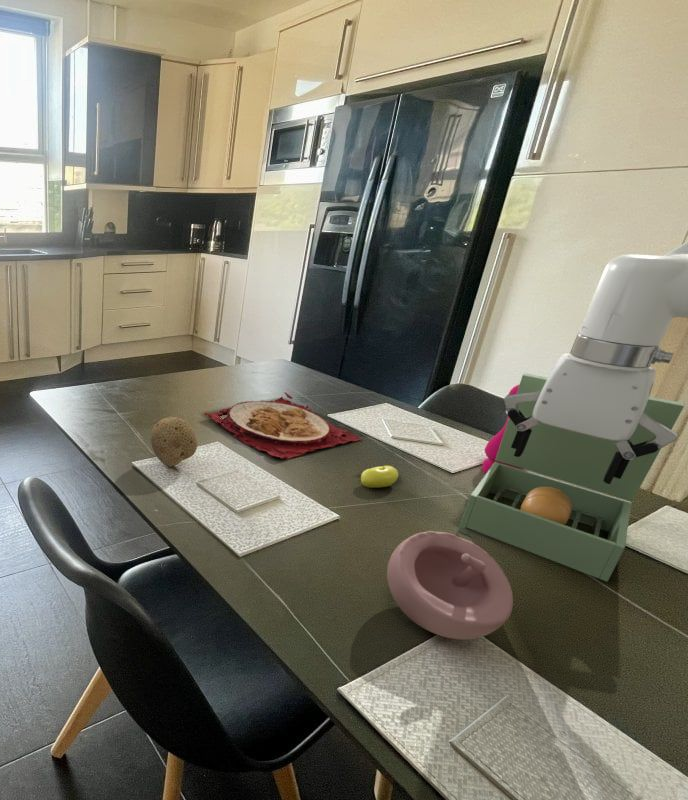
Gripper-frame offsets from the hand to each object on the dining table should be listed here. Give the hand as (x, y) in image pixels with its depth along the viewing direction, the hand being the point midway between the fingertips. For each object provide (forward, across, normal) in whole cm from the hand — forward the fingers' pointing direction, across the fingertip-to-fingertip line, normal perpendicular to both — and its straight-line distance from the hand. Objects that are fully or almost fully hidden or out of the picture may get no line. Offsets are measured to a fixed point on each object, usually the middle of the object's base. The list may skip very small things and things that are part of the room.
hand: (560, 466), depth 70 cm
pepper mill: (+13, +7, -24) cm, 28 cm away
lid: (-2, 0, -8) cm, 8 cm away
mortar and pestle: (+14, +5, +30) cm, 33 cm away
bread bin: (+13, 0, -3) cm, 13 cm away
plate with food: (+14, +46, -9) cm, 49 cm away
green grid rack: (+13, 0, -3) cm, 13 cm away
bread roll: (+10, 0, 0) cm, 10 cm away
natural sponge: (+14, +51, +24) cm, 58 cm away
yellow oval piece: (+14, +22, 0) cm, 25 cm away
